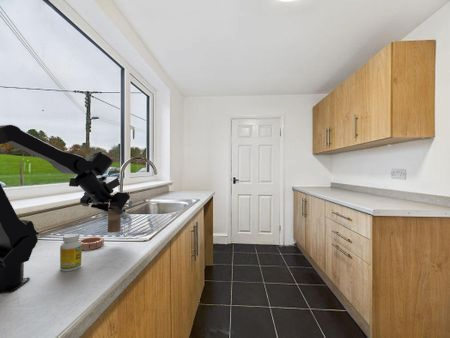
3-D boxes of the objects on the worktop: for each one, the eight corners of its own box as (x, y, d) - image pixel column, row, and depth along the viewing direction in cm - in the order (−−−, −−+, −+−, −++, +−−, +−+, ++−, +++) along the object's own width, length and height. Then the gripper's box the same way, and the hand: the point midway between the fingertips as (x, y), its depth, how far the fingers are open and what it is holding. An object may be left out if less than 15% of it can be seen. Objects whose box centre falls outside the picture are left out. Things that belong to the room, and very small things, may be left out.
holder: (98, 249, 86) (99, 243, 86) (73, 250, 85) (73, 244, 85) (106, 242, 95) (107, 236, 95) (83, 242, 93) (83, 237, 93)
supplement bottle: (64, 265, 72) (64, 233, 72) (84, 263, 74) (84, 232, 74) (56, 272, 67) (57, 238, 67) (77, 270, 68) (78, 237, 68)
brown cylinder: (119, 232, 88) (119, 201, 88) (106, 232, 87) (106, 201, 87) (121, 229, 92) (122, 199, 92) (109, 229, 91) (109, 199, 91)
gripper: (126, 169, 83) (147, 197, 93) (87, 168, 90) (111, 195, 100) (107, 194, 75) (132, 222, 86) (66, 191, 82) (94, 217, 92)
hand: (117, 212), depth 91 cm, fingers closed on brown cylinder, 4 cm apart
